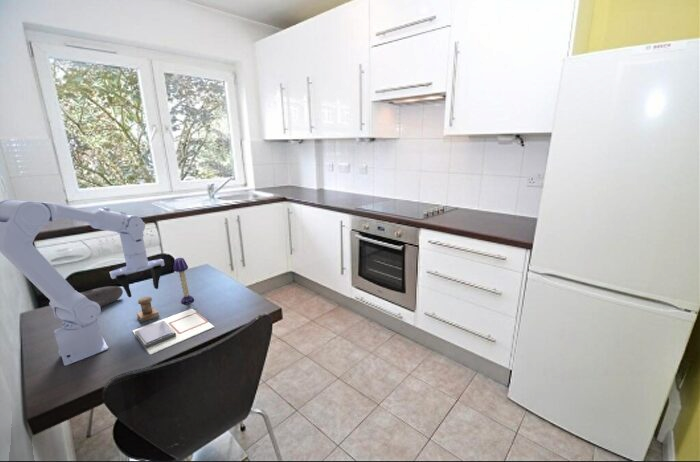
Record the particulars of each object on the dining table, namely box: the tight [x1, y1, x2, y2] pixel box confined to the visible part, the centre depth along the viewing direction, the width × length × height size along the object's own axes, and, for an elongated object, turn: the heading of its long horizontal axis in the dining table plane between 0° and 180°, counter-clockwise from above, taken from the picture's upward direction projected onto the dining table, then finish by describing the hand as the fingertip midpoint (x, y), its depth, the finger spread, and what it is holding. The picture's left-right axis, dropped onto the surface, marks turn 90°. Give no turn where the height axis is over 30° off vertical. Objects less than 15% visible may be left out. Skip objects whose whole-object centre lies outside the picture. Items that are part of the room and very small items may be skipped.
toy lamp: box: [173, 257, 195, 305], centre depth 114 cm, size 5×5×17 cm
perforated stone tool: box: [80, 285, 124, 308], centre depth 113 cm, size 15×5×7 cm, turn 146°
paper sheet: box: [131, 308, 215, 356], centre depth 98 cm, size 18×17×1 cm
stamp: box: [136, 296, 160, 324], centre depth 105 cm, size 5×5×7 cm
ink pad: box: [134, 321, 176, 350], centre depth 95 cm, size 8×10×1 cm
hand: (143, 291), depth 103 cm, fingers open, 7 cm apart
